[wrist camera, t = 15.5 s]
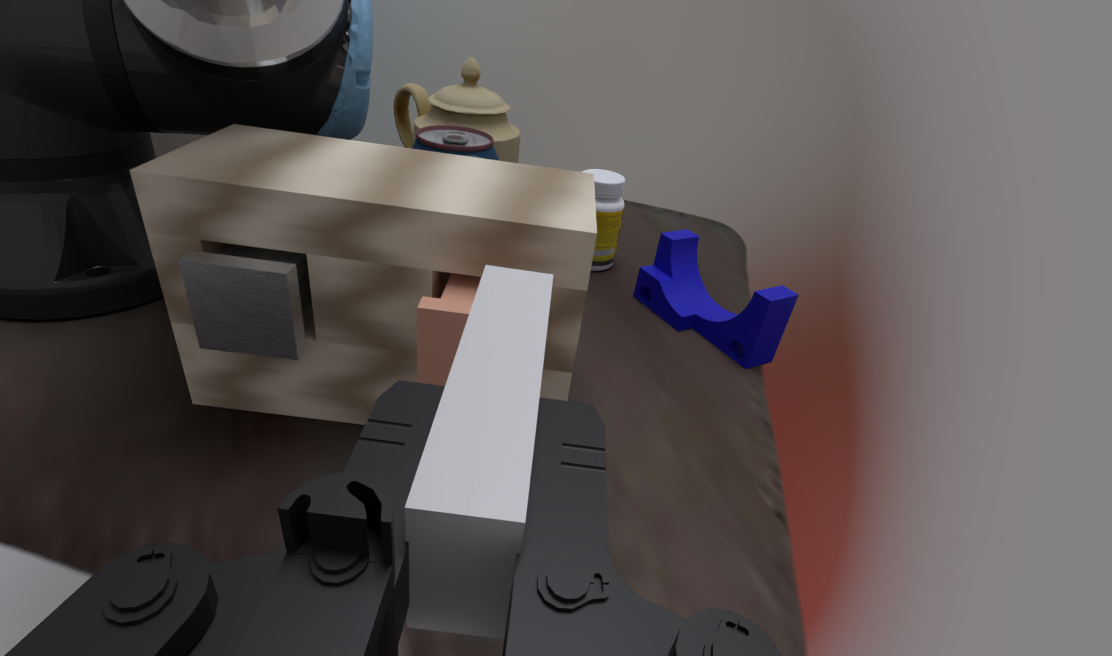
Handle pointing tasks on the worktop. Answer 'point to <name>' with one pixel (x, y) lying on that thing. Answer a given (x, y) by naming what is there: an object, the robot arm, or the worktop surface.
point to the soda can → (456, 141)
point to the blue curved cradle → (711, 304)
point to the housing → (359, 254)
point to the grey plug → (249, 300)
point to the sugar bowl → (459, 112)
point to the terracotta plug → (443, 328)
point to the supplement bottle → (607, 216)
